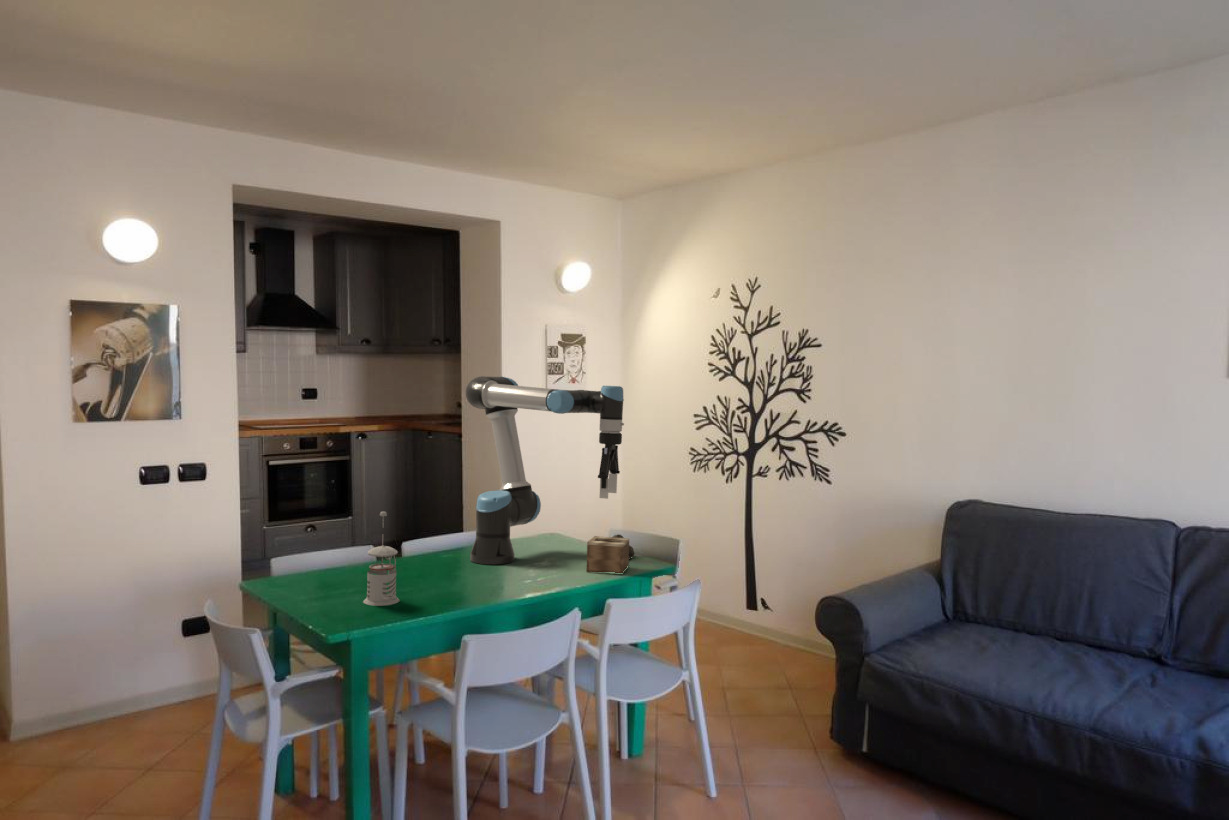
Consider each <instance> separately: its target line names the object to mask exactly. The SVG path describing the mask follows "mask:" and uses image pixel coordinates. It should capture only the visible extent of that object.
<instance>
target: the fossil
mask: <svg viewBox="0 0 1229 820" xmlns="http://www.w3.org/2000/svg"><path fill="white" fill-rule="evenodd" d="M612 537H615V538H624V536H623V535H622V534H618V533H617V534H614V535H613V536H612ZM633 556H634V557H635V550H634V547H633V546H631V545H630V544H629V558H631V557H633ZM634 557H633V558H634Z"/></svg>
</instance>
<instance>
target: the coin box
mask: <svg viewBox="0 0 1229 820" xmlns="http://www.w3.org/2000/svg"><path fill="white" fill-rule="evenodd" d="M586 545H587V546H586V570H585V571H586V573H591V572H615V573H623V571H624V570H625V569H626V568H627V566H628V567H629V564H630V563H629V562H630V561H629V560H630V559H629V545H630V538H615V537H613V536H600V535H599V536H598V535H594V536H592V538H590V539H589V540H588V541H587V542H586ZM623 574H624V573H623Z"/></svg>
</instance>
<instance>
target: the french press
mask: <svg viewBox="0 0 1229 820" xmlns="http://www.w3.org/2000/svg"><path fill="white" fill-rule="evenodd" d="M387 513H388V512H386V511H380V513H379V516H380V517H382V527H384V526H385V525H384V521H385V520H384V518H385V517H387V516H388V515H387ZM381 536H382V541H381V543H382V545H380V546H379V545H378V546H375V547H373V548H370V549H369V550H368V551H367V552H366V553H367V555H368V556H371V557H378V558H379V557H381V562H380V563H374V564H373V563H372V564H370V565H369V566H368V568H369V570H368V571H367V578H366V579H367V582H366V583H367V585H366V586H367V587H366V598H365V599H364V600H363V601H362V603H363V604H366V605H368V606H372V607H373V606H375V607H376V606H378V607H380V606H381V607H382V606H391V605H395V604H397V603H399V602H400V601H401V600H400V599H399V598H398V597H397V582H396V581H397V570H396V568H397V566H396V565H397V562H396V555H397V554H398V550H397V549H395V548H393V547H391V546H387V545H384V535H381ZM384 557H385V560H389V563H383V561H384V559H383V558H384ZM392 559H394V564H393V563H391V560H392ZM387 588H388V589H387Z"/></svg>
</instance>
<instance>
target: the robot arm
mask: <svg viewBox="0 0 1229 820" xmlns="http://www.w3.org/2000/svg"><path fill="white" fill-rule="evenodd" d="M465 398H466V400H467V402H468V404H469V405H471V407H474V408H476V409H478V410H484V412H485V416H486V418H488V419H489V420H490V421H491V422H490V423H491V427H492V432H493V437H494V438H493V439H494V443H495V450H496V456H497V461H498V468H499V473H500V474H499V475H500V479H501V487H500V488H499V490H490V491H486V492H485V491H484V492H482V493H481V494H479V495H478V497H477V500H476V507H475V508H476V511H475V512H476V514H475V515H476V521H475V523H476V524H475V528H476V529H475V540H474V542H473V545H472V548H471V551H470V557H469V558H470V559H469V560H470V562H473V563H476V564H481V565H504V564H510V563H513V562H514V561H515V555H516V554H515V550H514V547H513V543H512V540H511V527H516V526H520V525H522V526H523V525H526V524H528V523H529V524H530V523H531V522H533V521H535V520H536V519H537V518H538V515H539V514H540V512H541V507H542V506H541V505H542V503H541V498H540V496H539V495H538V494H537V493H536V492H535V491H533V489H532V484H531V483H529V482H528V481H527V478H526V475H525V474H526V473H525V467H524V461H523V456H522V451H521V446H520V445H521V444H520V439H519V434H518V428H517V422H516V414H517V413H518V411H519V410H518V409H524V410H533V411H542V412H543V411H544V412H551V413H554V414H561V415H562V414H564V415H565V414H580V413H582V414H583V413H586V414H599V431H600V432H599V435H598V436H599V437H598V438H599V439H598V443H599V444H601V445H604V447H602V448H601V458H600V466H599V472H598V475H597V479H599V499H605V500H606V499H607V500H608V499H609V494H617V487H618V485H617V484H618V475H619V474H620V472H621V471H620V468H619V467H620V465H619V454H618V452H619V451H618V449H619V448H618V447H619V446H618V445H622V441H623V439H622V438H623V435H622V430H623V426H624V425H625V423H624V422H623V412H624V411H623V410H624V401H625V399H624V387H623V386H621V385H602V386H601V388H600V390H598V391H597V390H588V389H587V390H585V389H574V390H572V389H571V390H569V389H557V388H556V389H555V388H545V387H536V386H535V387H533V386H523V385H519V384H518V383H517V381H515V380H514V379H513V378H509V377H506V376H483V375H482V376H476V377H474V378H473V379H471V380H470V381H469V382H468V383H467V385H466V387H465Z"/></svg>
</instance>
